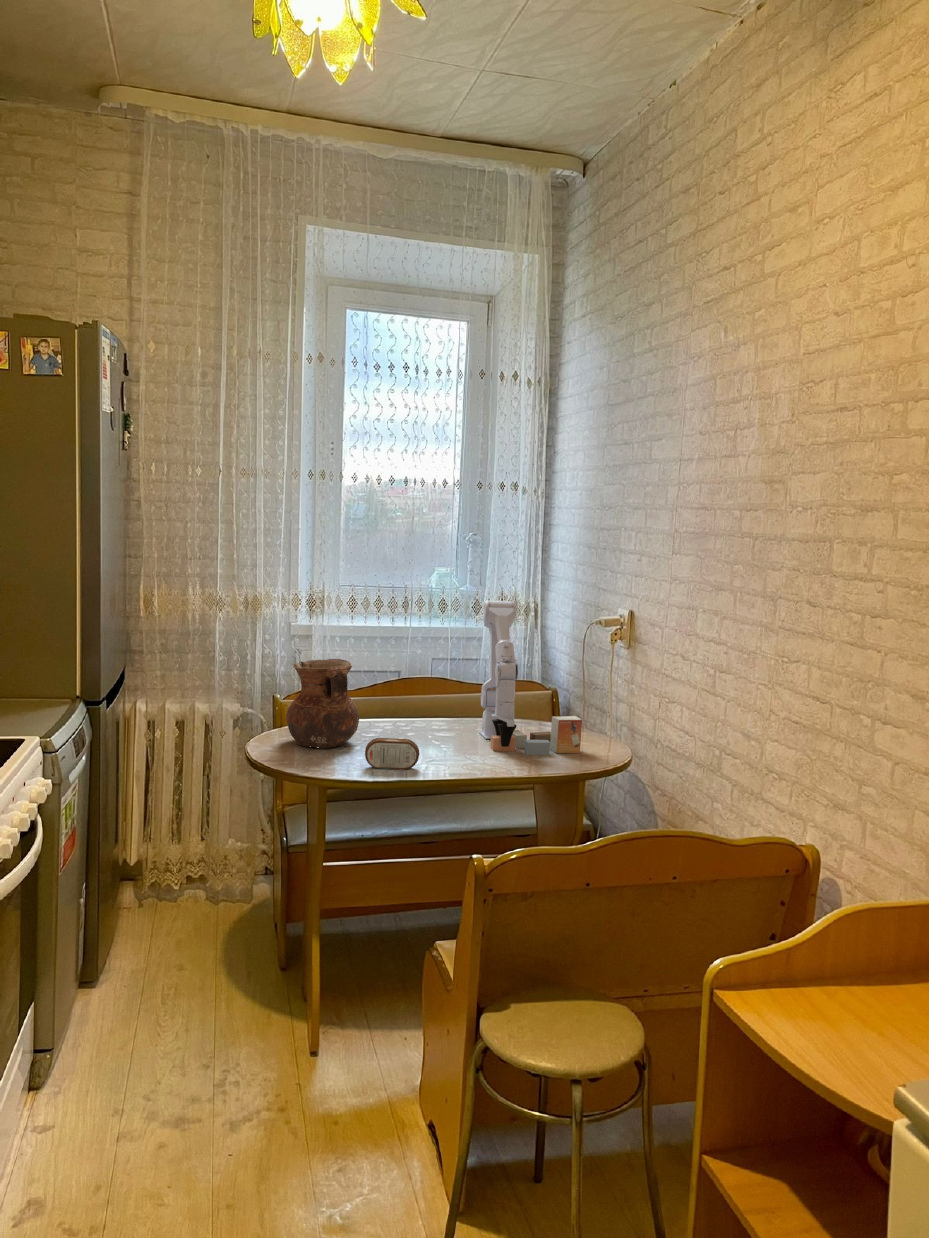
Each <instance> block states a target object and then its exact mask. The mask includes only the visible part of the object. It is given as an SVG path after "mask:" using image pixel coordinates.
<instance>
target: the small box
mask: <svg viewBox="0 0 929 1238" xmlns="http://www.w3.org/2000/svg"><path fill="white" fill-rule="evenodd" d="M550 725H551V729H550V732H551V741H550V751H552V752H553V753H555V754H580V753H581V744H582V743H581V742H582V727H583V719H581V718H580V717H578V716H576V715H572V716H571V715H568V716H567V715H566V716H563V715H562V716H551V724H550Z"/></svg>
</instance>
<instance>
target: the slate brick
mask: <svg viewBox="0 0 929 1238" xmlns="http://www.w3.org/2000/svg"><path fill="white" fill-rule="evenodd" d="M550 751H551V749H550V742H549V741H548V740H530V739H527V740H525V747H524V754H525V755H526V756H550V754H551V752H550Z"/></svg>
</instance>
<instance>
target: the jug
mask: <svg viewBox="0 0 929 1238" xmlns="http://www.w3.org/2000/svg"><path fill="white" fill-rule="evenodd" d="M293 668H294V669H295V671H296V673H297V676H298V677H299V679H300V685H301V686H300V688H301V689H300V693H299V694H298V695H297V696H296V697H295V698H294V700H292V702H291V703H290V705H289V706H288V708H287V711H286V716H285V717H286V719H285V720H286V723H287V727H288V728H287V729H288V731H289V734H290V736H291V737H292V738H293V740H294V741H295V742H296V743H297V744H298V743H299V744H298V745H300V746H302V745H304V746H303V747H306V746H311V747H319V748H318V749H323V748H326V749H331V748H330V747H333V748H337V747H336V746H338V747H340V746H343V745H345V744H346V743H347V742H348V741H349V740H351V739H352V737H353V736H354V735H355V733H356V732H357V730H358V728H359V724H360V723H359V722H360V714H359V710H358V707H357V704H355V702H354V700H353V699H352V698H351V697H350V696H349V695H348V694H349V693H348V684H349V683H348V674H349V672H350V671H351V669H352V668H353V665H352V663H351V662H350V661H348V660H345V659H341V658H328V659H311V660H307V661H300V662H294V663H293ZM311 747H310V748H311Z"/></svg>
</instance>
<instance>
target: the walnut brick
mask: <svg viewBox="0 0 929 1238" xmlns="http://www.w3.org/2000/svg"><path fill="white" fill-rule="evenodd" d="M529 740H548V741H549V742H550V741H551V730H550V731H549V730H548V731H535V732H534V731H533V732H529Z"/></svg>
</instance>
